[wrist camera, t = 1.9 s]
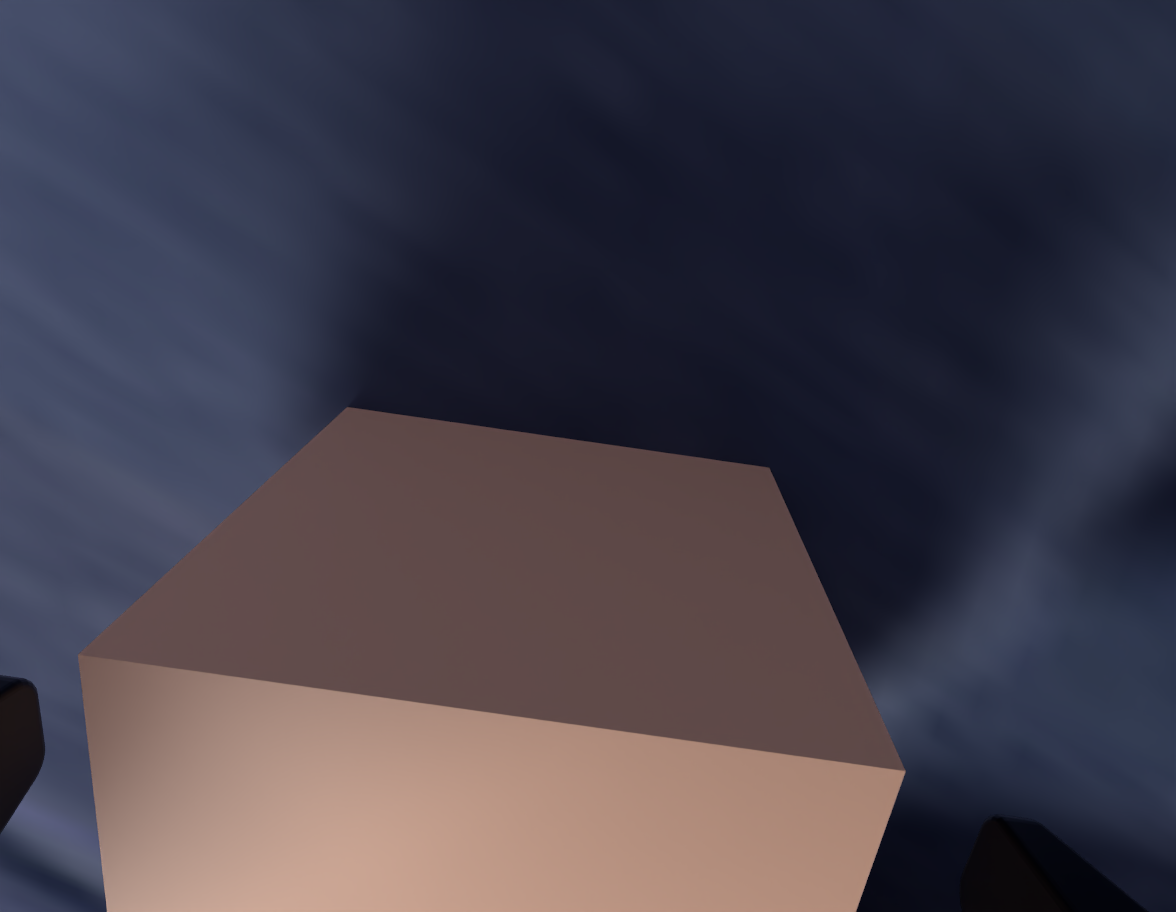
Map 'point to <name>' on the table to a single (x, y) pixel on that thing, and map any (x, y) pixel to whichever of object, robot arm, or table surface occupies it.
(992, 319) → the table surface
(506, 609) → the terracotta cube
